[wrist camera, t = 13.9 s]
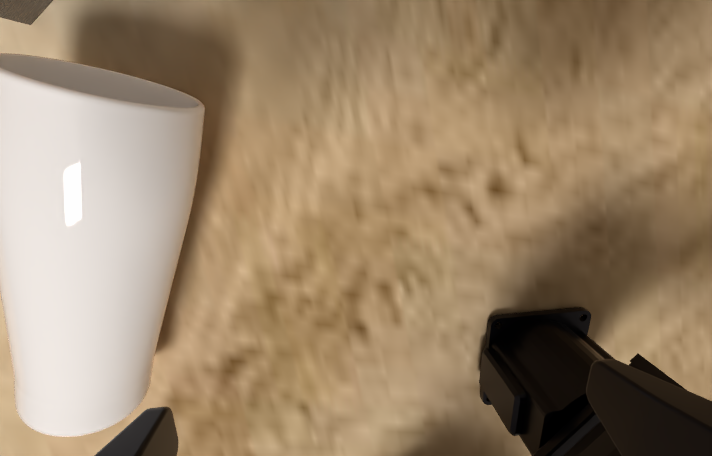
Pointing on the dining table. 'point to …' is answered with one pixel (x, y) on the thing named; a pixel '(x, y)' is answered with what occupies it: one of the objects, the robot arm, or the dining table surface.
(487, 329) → the robot arm
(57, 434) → the drinking glass
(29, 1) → the grey slotted base block
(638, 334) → the dining table surface
